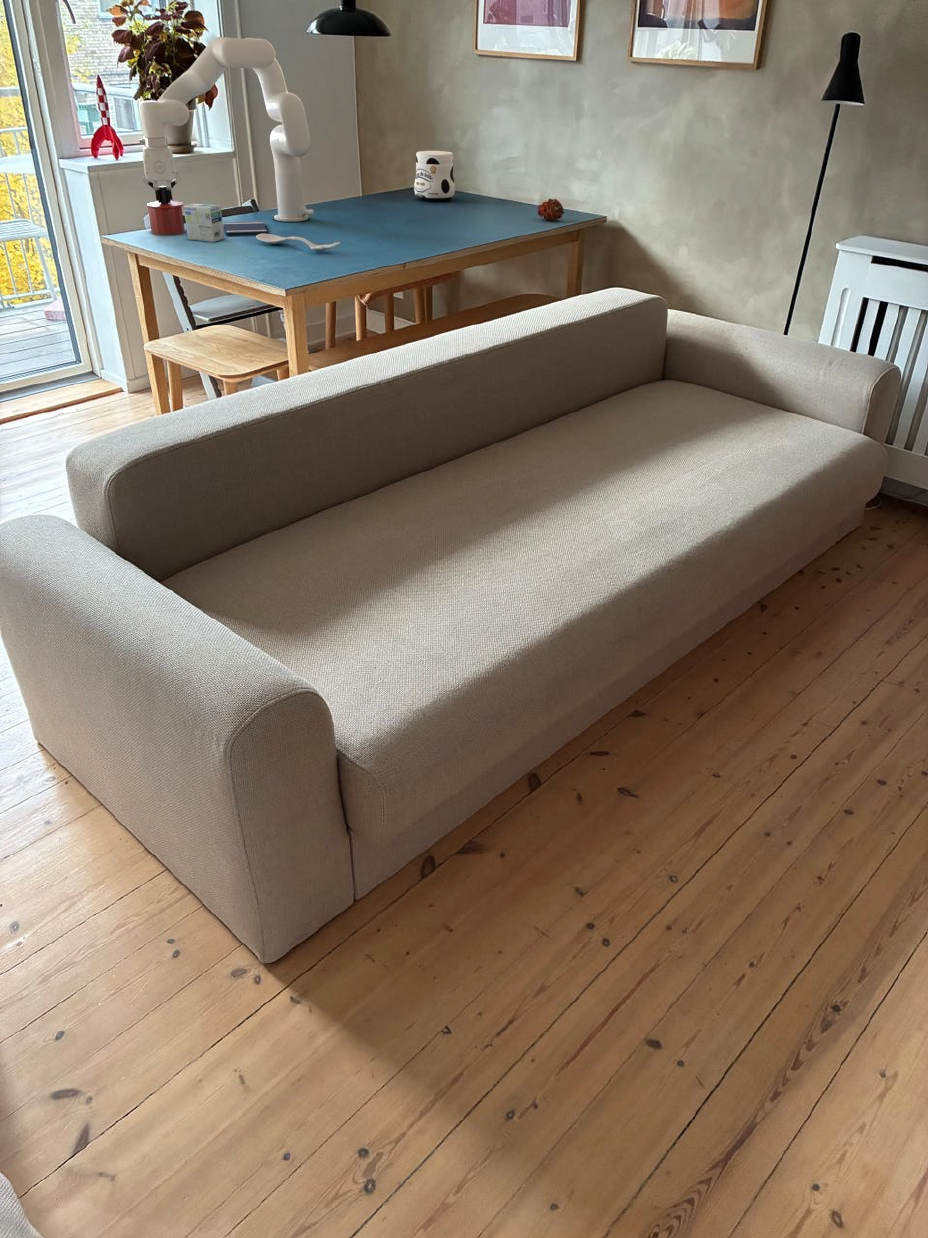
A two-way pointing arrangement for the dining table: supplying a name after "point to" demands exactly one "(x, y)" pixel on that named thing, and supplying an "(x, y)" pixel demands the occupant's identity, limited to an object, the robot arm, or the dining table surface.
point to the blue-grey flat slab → (245, 228)
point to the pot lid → (164, 200)
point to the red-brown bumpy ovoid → (551, 210)
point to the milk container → (434, 175)
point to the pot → (166, 221)
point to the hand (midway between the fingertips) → (164, 201)
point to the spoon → (277, 240)
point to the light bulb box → (204, 222)
